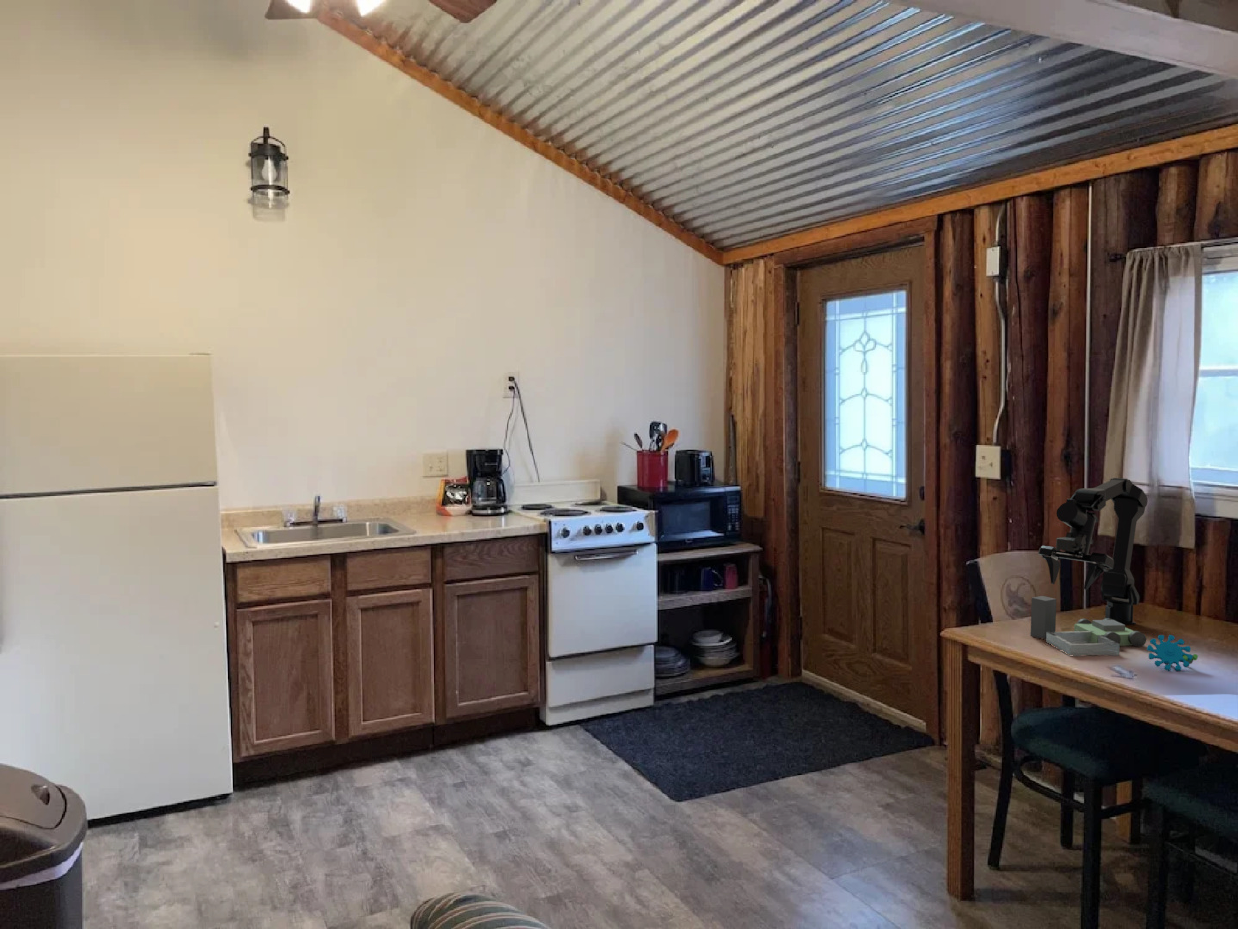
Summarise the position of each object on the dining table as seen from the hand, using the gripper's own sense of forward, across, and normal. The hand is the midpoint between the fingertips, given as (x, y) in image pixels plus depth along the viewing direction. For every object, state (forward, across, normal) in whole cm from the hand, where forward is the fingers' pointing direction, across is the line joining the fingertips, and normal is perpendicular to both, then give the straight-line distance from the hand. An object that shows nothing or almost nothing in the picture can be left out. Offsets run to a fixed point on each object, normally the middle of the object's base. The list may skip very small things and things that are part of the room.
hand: (1068, 586), depth 260 cm
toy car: (+10, +6, +14) cm, 19 cm away
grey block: (+15, -6, +4) cm, 16 cm away
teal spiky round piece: (+16, +29, +2) cm, 33 cm away
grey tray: (+16, +7, +1) cm, 17 cm away
